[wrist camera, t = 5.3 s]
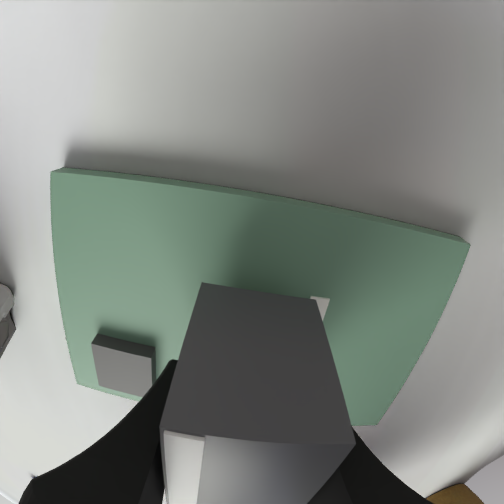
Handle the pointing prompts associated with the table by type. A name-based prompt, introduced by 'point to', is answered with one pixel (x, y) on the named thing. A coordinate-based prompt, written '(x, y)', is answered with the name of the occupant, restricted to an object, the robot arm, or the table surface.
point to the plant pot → (455, 496)
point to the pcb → (239, 277)
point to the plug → (253, 403)
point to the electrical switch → (5, 317)
